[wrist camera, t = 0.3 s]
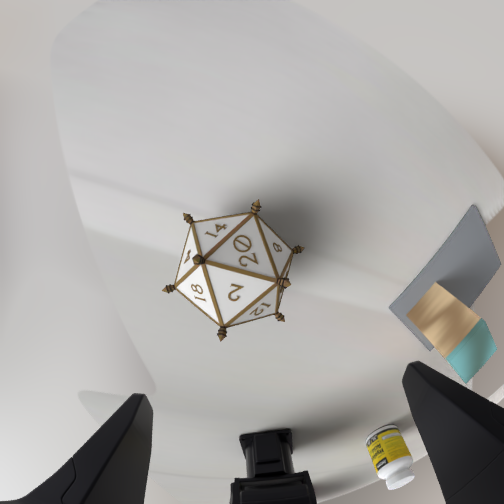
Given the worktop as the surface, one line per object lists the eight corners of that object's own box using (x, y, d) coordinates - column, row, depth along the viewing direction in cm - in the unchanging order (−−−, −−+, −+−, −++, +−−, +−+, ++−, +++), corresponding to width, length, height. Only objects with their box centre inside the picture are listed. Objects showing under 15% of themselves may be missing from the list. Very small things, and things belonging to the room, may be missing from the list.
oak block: (428, 340, 27) (465, 383, 19) (405, 315, 25) (448, 362, 18) (454, 310, 26) (497, 349, 18) (435, 281, 24) (485, 321, 17)
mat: (427, 348, 28) (430, 351, 27) (388, 307, 25) (391, 310, 25) (498, 262, 25) (501, 264, 24) (472, 205, 22) (475, 206, 22)
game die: (214, 228, 26) (137, 192, 17) (308, 215, 23) (269, 159, 14) (215, 329, 24) (133, 341, 15) (315, 329, 21) (278, 351, 12)
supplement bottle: (370, 428, 32) (392, 480, 23) (401, 420, 33) (426, 467, 23) (360, 447, 34) (378, 496, 25) (390, 439, 34) (410, 484, 25)
